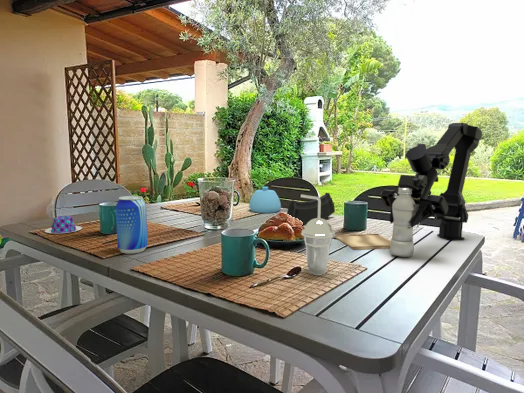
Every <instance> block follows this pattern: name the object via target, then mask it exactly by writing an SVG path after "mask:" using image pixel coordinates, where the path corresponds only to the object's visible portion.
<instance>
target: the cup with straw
mask: <svg viewBox="0 0 524 393" xmlns="http://www.w3.org/2000/svg"><path fill="white" fill-rule="evenodd" d="M299 198H304V199H309V200H314V199H316V200H318V218H314V219H312V220H310V221H309V222H308V223H307V224H306V225H304V229H302V230H301V233H300V234H301V236H302V237H303V239H304V244H305V251H306V252H305V253H306V263H307V268H308V269H307V273H308V274H310V275H313V274H314V276H323V275H322V274H324V275H326V274H327V268H328V263H329V256H330V249H331V246H332V243H333V242H332V241H333V238H335V236H336V235H337V234H336V232H335V231H334V230H333V227H332V225H331V223H330V222H329V221H328V220H327V219H326V218H325V219H322V218H320V214H321V199H320V198H319V196H315V195H314V196H313V195H307V194H299ZM325 273H326V274H325Z"/></svg>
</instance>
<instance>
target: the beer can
mask: <svg viewBox="0 0 524 393" xmlns="http://www.w3.org/2000/svg"><path fill="white" fill-rule="evenodd" d="M143 198H144V197H143V196H140V195H127V196H126V195H125V196H119V197H118V201H117V203H116V204H115V218H116V219H115V221H116V238H117V241H116V242H117V249H118V250H119V252H120V253H122V254H128V255H130V254H131V255H133V254H139V253H142V252H144V251H145V250H146V248H147V247H148V224H147V204H146V202H145V200H144V199H143Z"/></svg>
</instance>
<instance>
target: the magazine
mask: <svg viewBox="0 0 524 393" xmlns="http://www.w3.org/2000/svg"><path fill="white" fill-rule="evenodd" d="M318 197H319V196H318ZM319 198H320V199H321V214H320V218H322V219H325V220H326V219H329V217H330V216H332V215H334V213H335V212H336V209H335V203H334V201H333V198H332V196H331V194H330V192H326V193H324V194H323V195H321V196H320V197H319ZM287 214H289V215H291V216H292V217H295V218H298V219H299V220H301V221H302V222H303V224H304V225H303V226H306V224H307V223H308V222H309V221H310V220H312V219H314V218H318V200H316V199H310V200H306V201H295V200H293V199H292V200H291V201H290V202H289V205H288V207H287V211H286V215H287Z"/></svg>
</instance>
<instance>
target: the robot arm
mask: <svg viewBox="0 0 524 393" xmlns="http://www.w3.org/2000/svg"><path fill="white" fill-rule="evenodd" d="M482 137H483V130H482V129H480V128H479V127H478V126H474V125H470V124H468V123H466V122H452V123H449V124H448V127H447V129H446V130H445V132H444V133H443V135H441V137H440V139H439V140H438V141H437V142H436V144H434V145H432V146H429V147H427V146H426V144H425V143H418V144H417V146H413V147H412V148H409V150H407V152H406V153H405V156H406V159H407V161H408V163H409V166H410V168H411V171H412V172H414V173H415V175H408V174H401V175H400V177H399V179H398V182H397V187H408V188H412V195H411V197H412V199H413V200H414V202H415V204H416V207H417V206H418V207H417V209H416V212H415V216H414V218H413V219H412V222H411V224H410V226H411V227H413V228H414V227H415V226H417V225H418V224H420V223H422V222H424V221H425V220H427V219H429V218H430V217H435V216H436V220H440V223H439V228H438V229H439V231H438V233H436V236H437V237H440V238H442V239H445V240H448V241H452V240H453V241H454V240H465V239H466V238H465V237H463V235H462V234H463V224H465V223H468V220H469V212H468V210H467V207H466V201H465V198H464V196H463V190H464V185H465V181H466V177H467V172H468V167H469V163H470V158H471V154H472V153H473V152H474V150H476V149H477V148H478V146H479V144H480V141H481V140H482ZM453 149H455V152H454V156H453V161H452V165H451V170H450V175H449V179H448V184H447V188H446V190H445V191H444V192H440V194H439V195H436V194H432V191H431V189H432V187H433V186H434V184H435V183H439V174H438V173H439V172H438V171H437V170H439V171H440V170H445V169H446V168H447V166H448V165H449V164H450V161H451V159H450V154H451V153H452V151H453ZM379 196H380V199H381V200H382V202H383V204H384V206H386V207H387V208H390V213H389V214H390V215H389V223H390V224H393V211H392V205H393V202H394V201H395V199H396V198H397V197H398V196H399V194H398V192H397V191H396V190H393V189H382V191H381V193H380V194H379Z"/></svg>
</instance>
